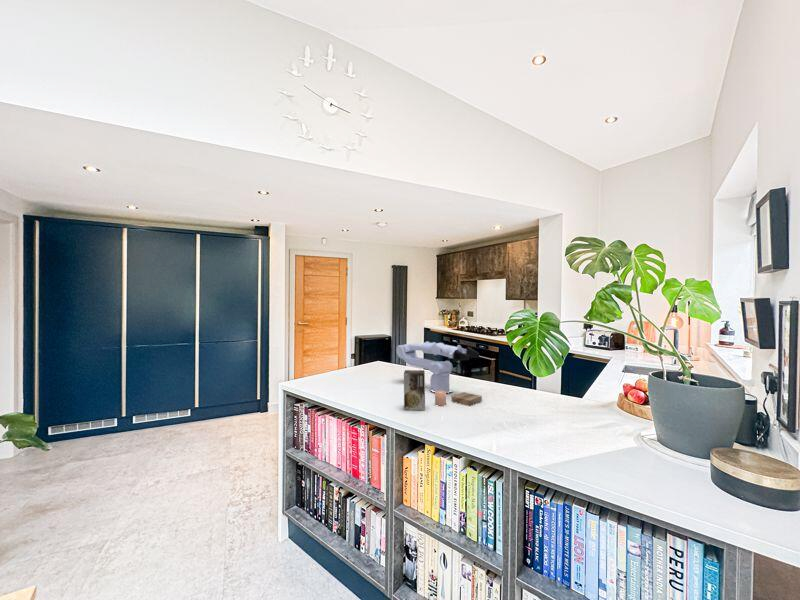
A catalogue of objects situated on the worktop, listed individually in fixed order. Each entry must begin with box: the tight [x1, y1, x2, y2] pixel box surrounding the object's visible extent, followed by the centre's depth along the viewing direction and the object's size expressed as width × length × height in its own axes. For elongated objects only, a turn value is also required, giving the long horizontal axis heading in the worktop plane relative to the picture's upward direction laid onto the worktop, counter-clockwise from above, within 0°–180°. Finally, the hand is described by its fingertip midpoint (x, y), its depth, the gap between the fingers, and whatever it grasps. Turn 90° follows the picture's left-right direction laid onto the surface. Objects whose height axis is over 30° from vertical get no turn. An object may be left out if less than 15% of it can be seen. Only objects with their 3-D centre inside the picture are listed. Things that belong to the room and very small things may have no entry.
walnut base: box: [451, 392, 483, 407], centre depth 164 cm, size 10×10×2 cm
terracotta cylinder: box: [434, 390, 447, 407], centre depth 160 cm, size 5×5×6 cm
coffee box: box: [403, 369, 426, 411], centre depth 155 cm, size 9×6×16 cm
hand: (473, 356), depth 165 cm, fingers open, 7 cm apart
